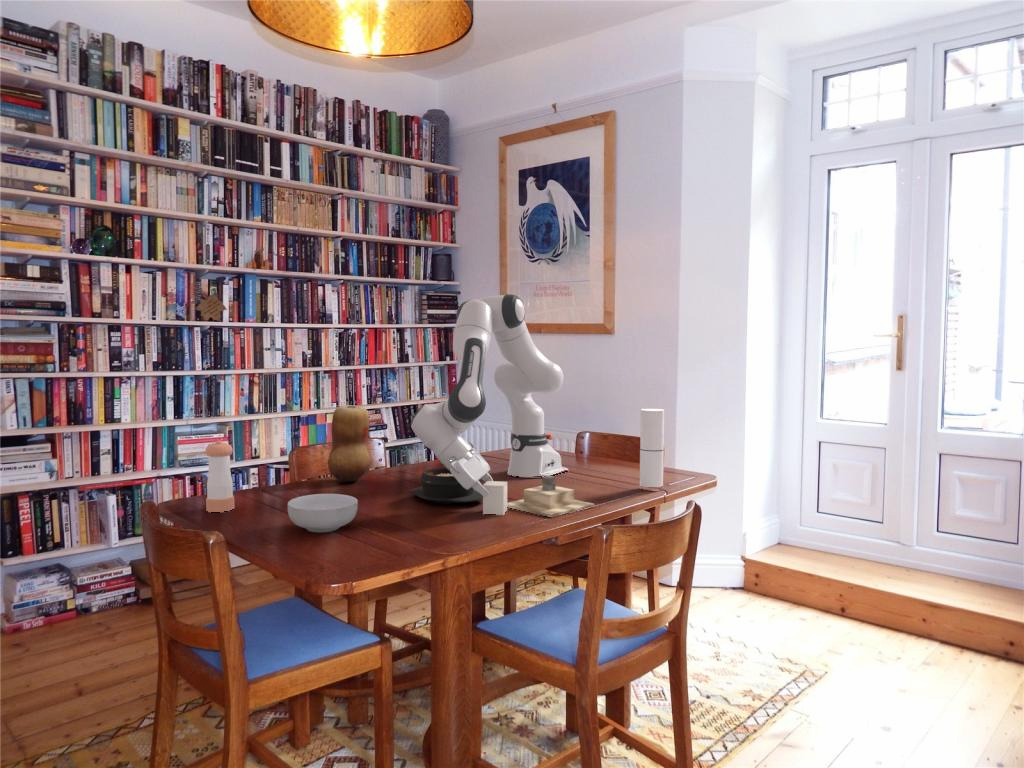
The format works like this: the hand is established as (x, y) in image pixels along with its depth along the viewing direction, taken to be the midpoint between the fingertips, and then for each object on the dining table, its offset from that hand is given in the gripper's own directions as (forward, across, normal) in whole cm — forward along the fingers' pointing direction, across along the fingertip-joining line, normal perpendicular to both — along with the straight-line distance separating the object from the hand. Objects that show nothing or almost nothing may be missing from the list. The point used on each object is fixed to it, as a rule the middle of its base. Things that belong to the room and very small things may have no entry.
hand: (491, 491), depth 202 cm
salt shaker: (-48, -11, +56) cm, 75 cm away
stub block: (+14, +9, -6) cm, 18 cm away
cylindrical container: (+34, +39, -26) cm, 58 cm away
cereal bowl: (-22, -24, +31) cm, 45 cm away
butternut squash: (-34, +32, +43) cm, 64 cm away
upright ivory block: (+5, 0, +3) cm, 6 cm away
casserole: (-7, +13, +15) cm, 21 cm away
